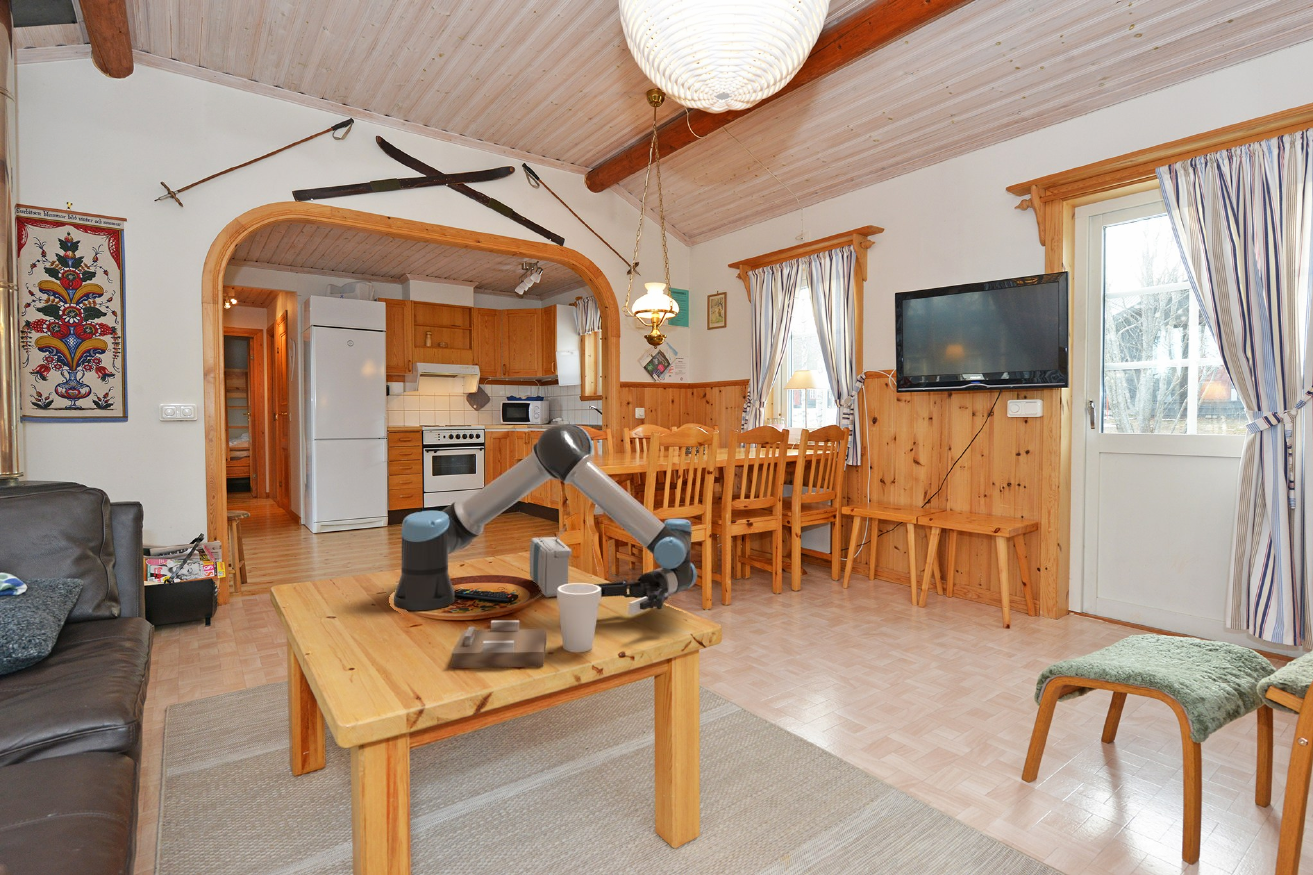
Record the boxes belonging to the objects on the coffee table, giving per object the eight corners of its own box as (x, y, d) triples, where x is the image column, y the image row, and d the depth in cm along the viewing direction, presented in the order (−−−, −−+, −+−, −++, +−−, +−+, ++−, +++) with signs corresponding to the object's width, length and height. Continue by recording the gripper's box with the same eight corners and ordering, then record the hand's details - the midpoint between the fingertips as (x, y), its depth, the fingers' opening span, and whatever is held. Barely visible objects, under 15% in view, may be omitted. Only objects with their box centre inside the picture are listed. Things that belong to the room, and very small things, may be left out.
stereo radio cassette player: (528, 580, 205) (529, 514, 205) (555, 578, 208) (556, 513, 208) (542, 599, 186) (543, 526, 185) (571, 597, 189) (573, 525, 188)
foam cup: (608, 647, 150) (609, 589, 149) (576, 658, 143) (577, 596, 142) (579, 637, 156) (580, 580, 156) (547, 646, 149) (548, 588, 149)
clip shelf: (451, 668, 136) (451, 643, 135) (463, 643, 150) (463, 620, 150) (543, 666, 138) (543, 642, 138) (546, 642, 152) (546, 620, 152)
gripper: (698, 608, 169) (650, 630, 151) (617, 591, 182) (564, 609, 164) (699, 578, 168) (651, 596, 150) (617, 563, 182) (565, 579, 164)
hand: (605, 603), depth 157 cm, fingers open, 13 cm apart
